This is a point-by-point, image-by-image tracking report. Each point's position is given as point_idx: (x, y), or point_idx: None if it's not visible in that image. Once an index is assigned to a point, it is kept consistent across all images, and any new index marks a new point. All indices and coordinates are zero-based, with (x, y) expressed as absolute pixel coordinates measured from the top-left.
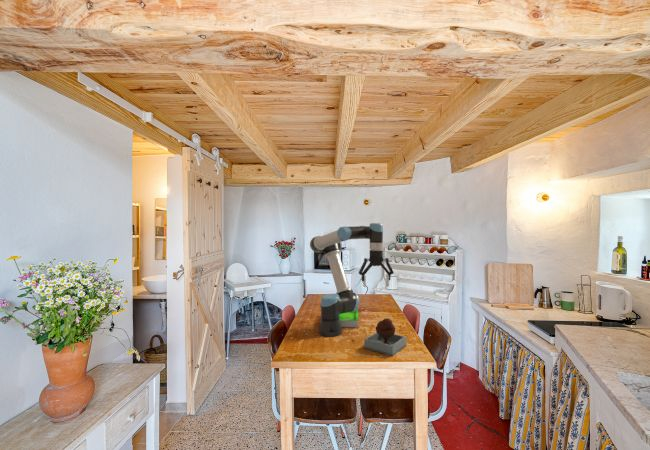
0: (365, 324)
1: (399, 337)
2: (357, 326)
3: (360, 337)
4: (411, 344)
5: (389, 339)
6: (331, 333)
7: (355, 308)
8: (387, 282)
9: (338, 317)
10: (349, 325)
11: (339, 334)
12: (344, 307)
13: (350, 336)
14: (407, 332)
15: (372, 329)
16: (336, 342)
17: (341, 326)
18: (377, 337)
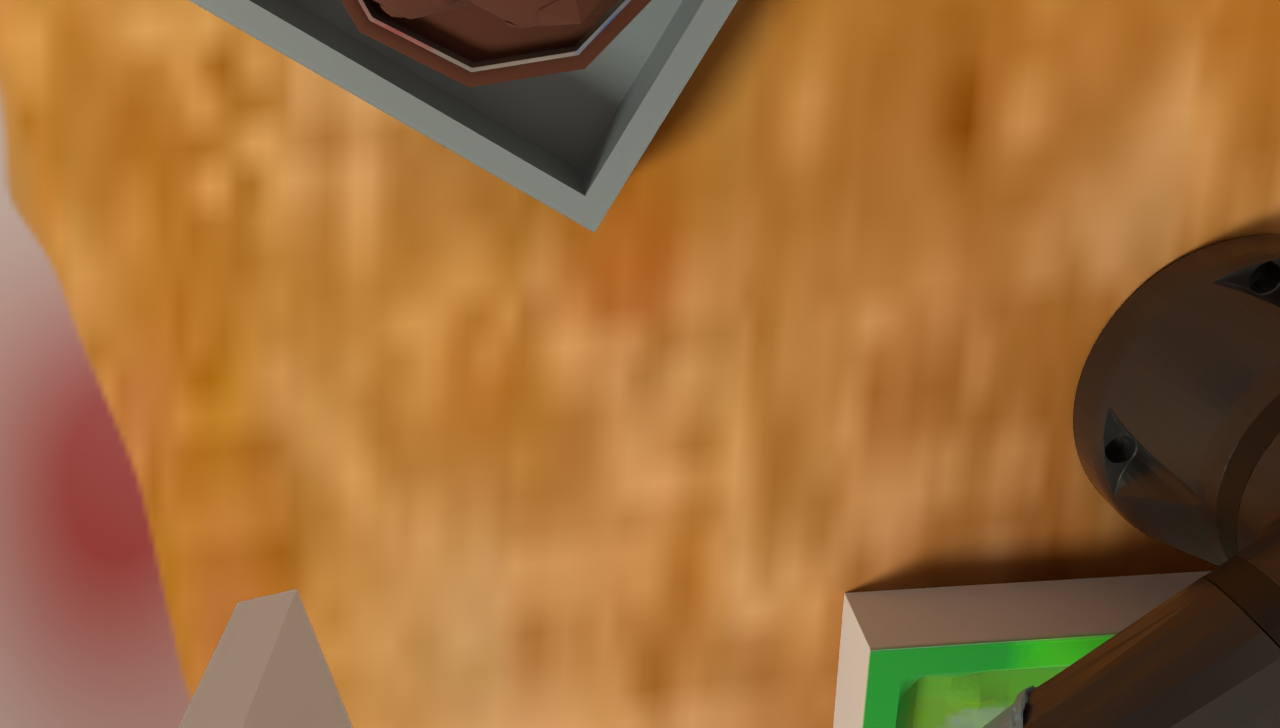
0: (744, 703)
1: (270, 7)
2: (860, 600)
3: (847, 240)
4: (113, 21)
5: (440, 91)
6: (1263, 248)
7: (993, 725)
8: (249, 721)
9: (1263, 455)
10: (969, 600)
11: (1127, 304)
12: (1248, 602)
13: (980, 266)
14: (180, 482)
15: (662, 543)
16: (1197, 23)
17: (1066, 585)
18: (621, 113)
